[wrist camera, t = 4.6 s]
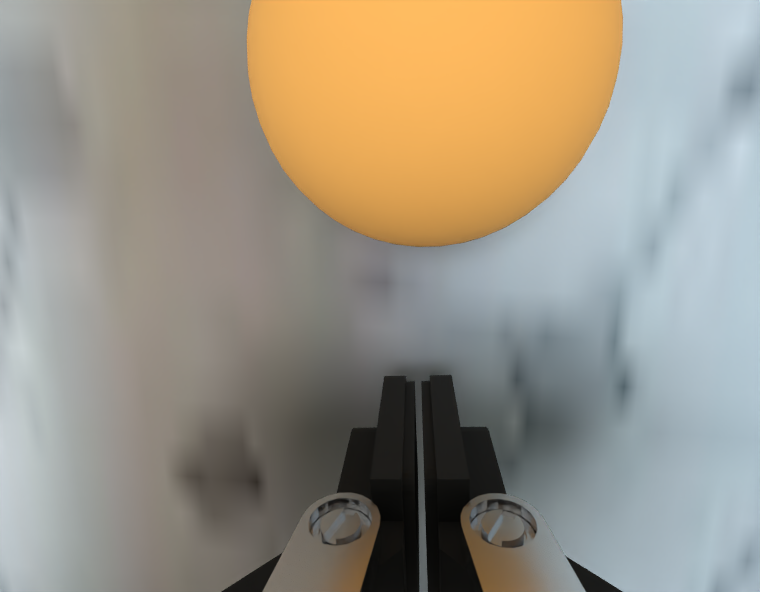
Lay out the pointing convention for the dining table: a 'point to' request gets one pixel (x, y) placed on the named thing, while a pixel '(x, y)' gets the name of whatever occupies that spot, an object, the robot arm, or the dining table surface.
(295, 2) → the ball
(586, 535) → the dining table surface
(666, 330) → the dining table surface
